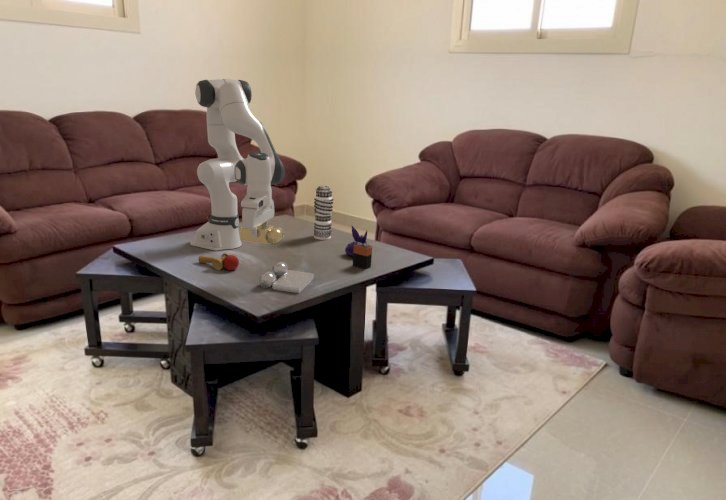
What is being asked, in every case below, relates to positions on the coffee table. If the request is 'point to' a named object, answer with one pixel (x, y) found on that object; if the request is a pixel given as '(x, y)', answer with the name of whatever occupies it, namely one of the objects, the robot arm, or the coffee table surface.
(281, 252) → the coffee table surface
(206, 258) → the kendama
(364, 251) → the battery
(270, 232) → the gold bar
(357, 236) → the creature
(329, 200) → the black white tall cylinder
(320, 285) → the coffee table surface
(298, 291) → the plate with metal balls
